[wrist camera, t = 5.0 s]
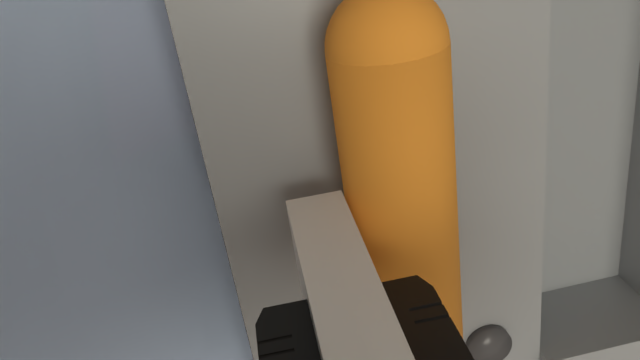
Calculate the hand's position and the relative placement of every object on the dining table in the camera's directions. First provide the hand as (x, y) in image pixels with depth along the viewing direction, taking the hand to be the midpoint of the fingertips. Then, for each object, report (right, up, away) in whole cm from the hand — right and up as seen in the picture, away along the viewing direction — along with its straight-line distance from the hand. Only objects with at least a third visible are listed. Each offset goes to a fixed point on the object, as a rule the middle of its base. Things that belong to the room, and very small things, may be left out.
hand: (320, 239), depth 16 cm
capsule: (+2, +1, 0) cm, 2 cm away
